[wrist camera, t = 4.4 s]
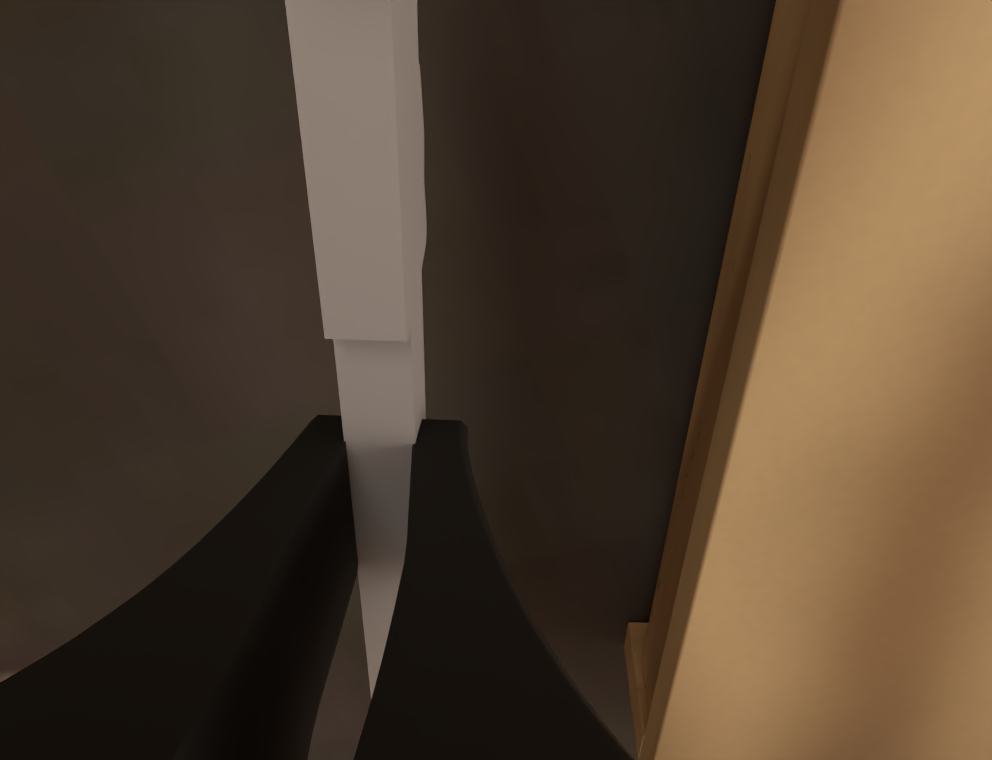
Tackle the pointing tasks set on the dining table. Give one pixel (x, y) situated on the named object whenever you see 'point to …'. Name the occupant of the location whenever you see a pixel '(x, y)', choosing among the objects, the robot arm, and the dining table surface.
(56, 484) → the dining table surface
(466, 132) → the dining table surface
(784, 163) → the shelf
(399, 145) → the caliper
